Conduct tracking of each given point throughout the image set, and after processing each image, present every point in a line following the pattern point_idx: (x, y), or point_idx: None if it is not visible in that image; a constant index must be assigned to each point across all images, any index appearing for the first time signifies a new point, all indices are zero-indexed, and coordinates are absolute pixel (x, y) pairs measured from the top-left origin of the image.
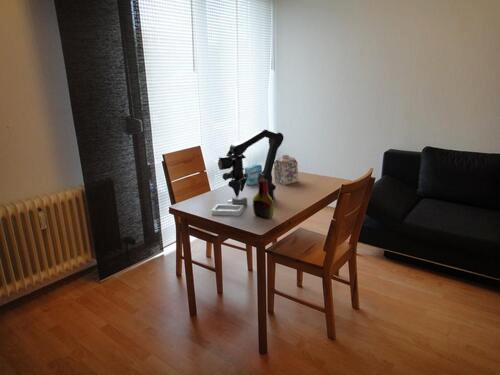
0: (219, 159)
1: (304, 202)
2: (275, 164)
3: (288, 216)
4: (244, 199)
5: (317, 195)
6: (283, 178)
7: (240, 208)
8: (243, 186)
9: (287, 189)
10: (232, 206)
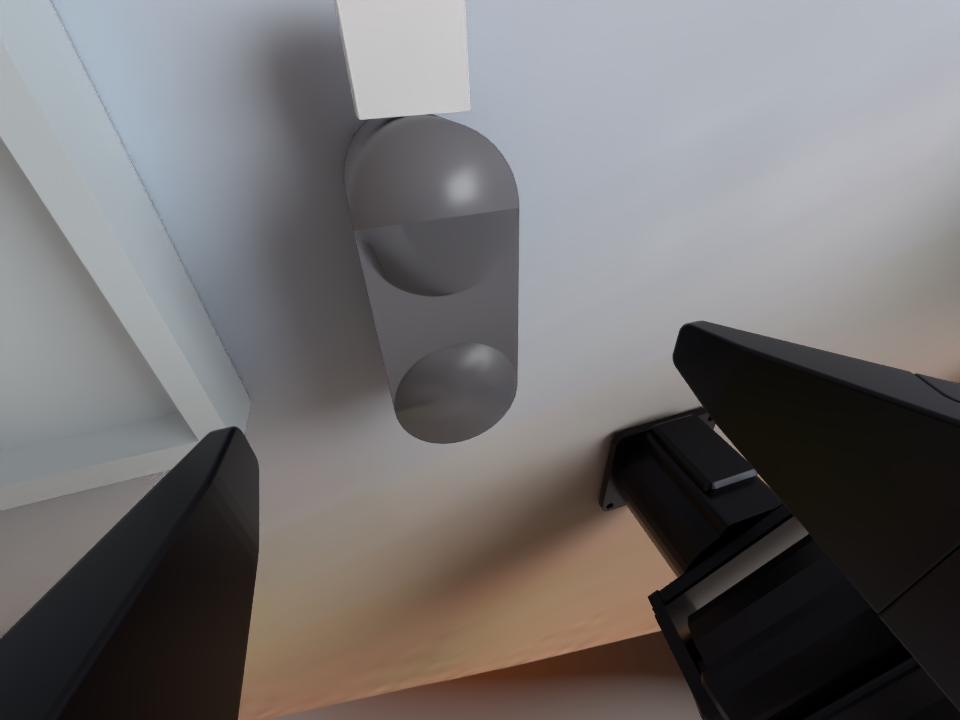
0: None
1: (562, 631)
2: None
3: (283, 706)
4: (412, 428)
5: None
6: None
7: (42, 490)
8: (774, 480)
9: None
10: (98, 255)
